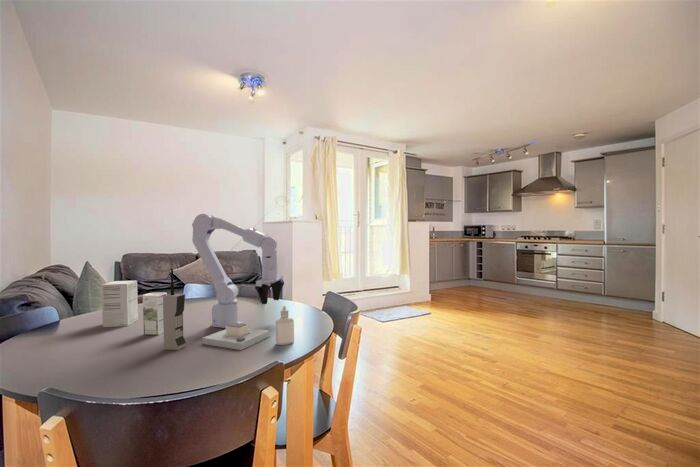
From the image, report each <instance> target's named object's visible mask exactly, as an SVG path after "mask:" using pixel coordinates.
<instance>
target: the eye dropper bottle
mask: <svg viewBox="0 0 700 467" xmlns="http://www.w3.org/2000/svg"><path fill="white" fill-rule="evenodd" d="M294 322H295V320H294V319H293V318H292V317H291V316H289V309H287V306H286V305H283V306H282V309H281V310H280V317H278V318H277V319H276V320H275V343H276V345H278V346H284V345H285V346H286V345H291V344H293V343H295V325H294V324H295V323H294Z"/></svg>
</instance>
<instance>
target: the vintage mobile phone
mask: <svg viewBox="0 0 700 467" xmlns="http://www.w3.org/2000/svg"><path fill="white" fill-rule="evenodd" d="M185 301H186V294H185V293H175V283H174V269H173V268H171V269H170V293H169V294H167V295H166V296H163V324H164V333H163V350H166V351H180V350H181V349H183V348H185V347H187V342H186V339H185V337H184V310H185V306H186V305H185Z"/></svg>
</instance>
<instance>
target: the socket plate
mask: <svg viewBox="0 0 700 467" xmlns="http://www.w3.org/2000/svg"><path fill="white" fill-rule="evenodd" d="M270 337H271V333H270V330H268V329H259V328H251V327H250V328H249V327H248V334H247V335H245V336H243V337H232V336H226V328H224V329H223V330H219V331H217V332H214V333H212V334H208V335H207V336H206V335H205V336H203V337H202V338H201V339H202V341H201V342H202V345H207V346H214V347H219V348H225V349H233V350H238V351H243V350H244V349H246V348H249V347H251V346H253V345H255V344H257V343H259V342H261V341H263V340H265V339H267V338H270Z"/></svg>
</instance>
